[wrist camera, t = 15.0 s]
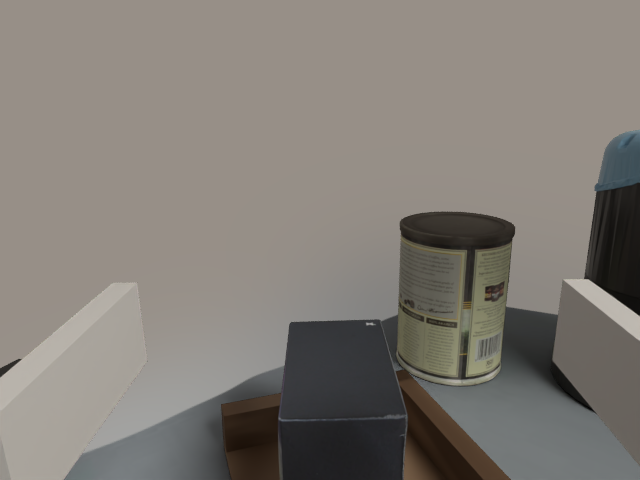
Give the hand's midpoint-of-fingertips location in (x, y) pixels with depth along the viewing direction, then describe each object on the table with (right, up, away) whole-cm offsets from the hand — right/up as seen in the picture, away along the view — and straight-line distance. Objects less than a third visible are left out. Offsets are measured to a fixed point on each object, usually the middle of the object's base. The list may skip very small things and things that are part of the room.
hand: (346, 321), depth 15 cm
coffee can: (+12, -10, +34) cm, 37 cm away
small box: (0, -14, +15) cm, 21 cm away
